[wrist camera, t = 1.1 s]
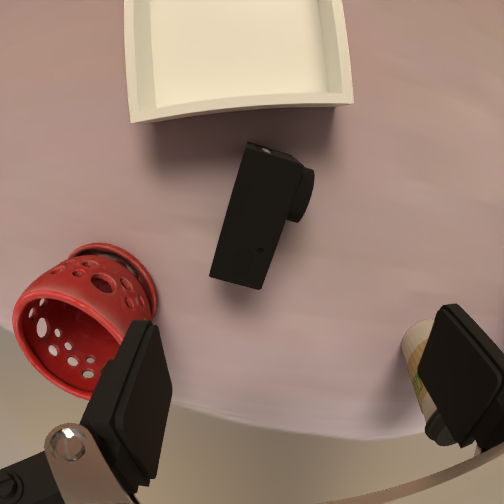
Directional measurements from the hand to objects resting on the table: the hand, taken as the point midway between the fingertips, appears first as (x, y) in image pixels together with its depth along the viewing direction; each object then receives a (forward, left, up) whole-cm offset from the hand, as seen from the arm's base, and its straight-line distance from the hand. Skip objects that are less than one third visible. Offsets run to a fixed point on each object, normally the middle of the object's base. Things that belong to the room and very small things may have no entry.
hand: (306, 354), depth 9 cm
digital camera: (+1, 0, -21) cm, 21 cm away
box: (+2, -18, -21) cm, 27 cm away
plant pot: (+18, +8, -21) cm, 29 cm away
